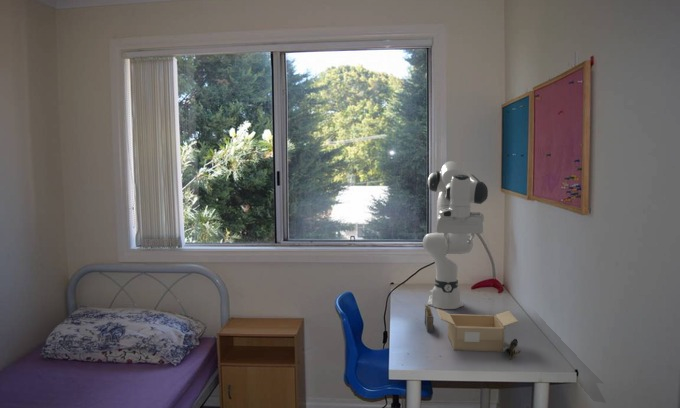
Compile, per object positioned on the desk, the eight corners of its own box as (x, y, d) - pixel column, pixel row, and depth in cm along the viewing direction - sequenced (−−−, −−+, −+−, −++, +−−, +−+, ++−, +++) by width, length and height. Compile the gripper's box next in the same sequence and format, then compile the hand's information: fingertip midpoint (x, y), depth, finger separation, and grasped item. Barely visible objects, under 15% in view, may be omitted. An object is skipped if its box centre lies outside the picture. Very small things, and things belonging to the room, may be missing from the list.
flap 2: (495, 314, 208) (508, 310, 208) (495, 315, 208) (508, 311, 208) (503, 325, 195) (517, 320, 195) (504, 326, 196) (518, 321, 195)
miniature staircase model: (423, 324, 228) (424, 304, 227) (430, 324, 227) (430, 304, 226) (426, 333, 216) (426, 312, 215) (433, 333, 216) (433, 312, 215)
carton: (447, 335, 212) (448, 313, 211) (493, 337, 211) (494, 315, 210) (454, 350, 196) (455, 327, 195) (503, 352, 195) (504, 328, 194)
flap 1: (448, 314, 210) (436, 309, 210) (449, 313, 209) (436, 308, 210) (454, 325, 197) (440, 319, 197) (454, 324, 197) (441, 318, 197)
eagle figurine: (526, 358, 186) (522, 345, 195) (516, 344, 185) (513, 332, 194) (508, 366, 189) (504, 353, 197) (498, 352, 188) (496, 339, 196)
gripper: (482, 211, 212) (480, 242, 213) (435, 210, 213) (434, 241, 214) (485, 213, 205) (484, 245, 207) (437, 212, 206) (436, 244, 208)
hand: (458, 243), depth 210 cm, fingers open, 8 cm apart
